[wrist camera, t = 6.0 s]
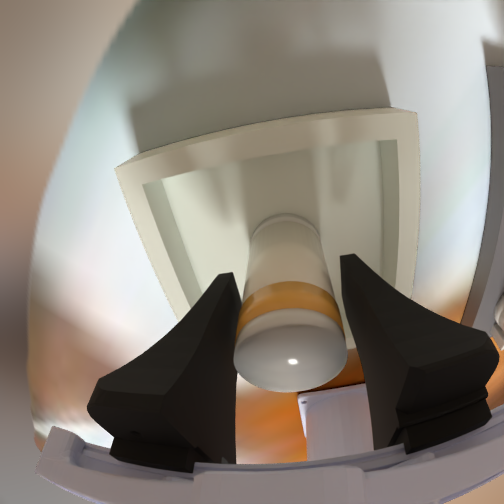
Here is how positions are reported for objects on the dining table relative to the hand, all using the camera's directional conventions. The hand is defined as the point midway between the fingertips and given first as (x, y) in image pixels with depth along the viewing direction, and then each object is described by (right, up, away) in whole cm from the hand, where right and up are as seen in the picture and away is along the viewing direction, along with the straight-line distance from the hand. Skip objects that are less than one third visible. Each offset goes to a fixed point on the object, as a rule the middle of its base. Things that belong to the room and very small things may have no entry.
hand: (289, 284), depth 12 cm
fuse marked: (0, +2, +3) cm, 3 cm away
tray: (0, +2, +3) cm, 4 cm away
